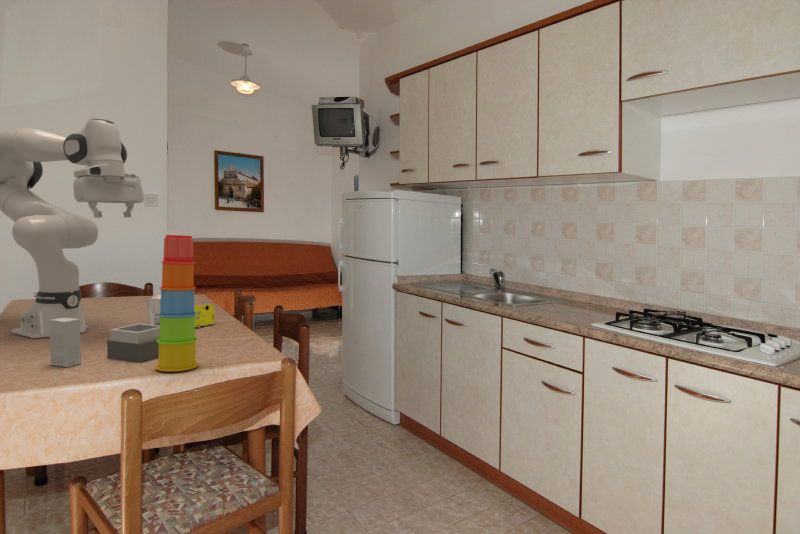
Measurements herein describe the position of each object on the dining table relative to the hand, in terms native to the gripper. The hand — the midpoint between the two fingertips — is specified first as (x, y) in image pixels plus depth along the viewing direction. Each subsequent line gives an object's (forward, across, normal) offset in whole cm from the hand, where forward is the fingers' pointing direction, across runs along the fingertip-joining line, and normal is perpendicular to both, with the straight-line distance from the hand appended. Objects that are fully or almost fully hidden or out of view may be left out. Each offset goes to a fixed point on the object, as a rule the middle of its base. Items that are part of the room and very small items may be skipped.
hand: (113, 217), depth 156 cm
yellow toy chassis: (+40, -26, -2) cm, 48 cm away
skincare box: (+40, +24, +10) cm, 47 cm away
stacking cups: (+43, +10, +36) cm, 57 cm away
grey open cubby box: (+41, +8, +18) cm, 45 cm away
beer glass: (+41, -3, +12) cm, 42 cm away
